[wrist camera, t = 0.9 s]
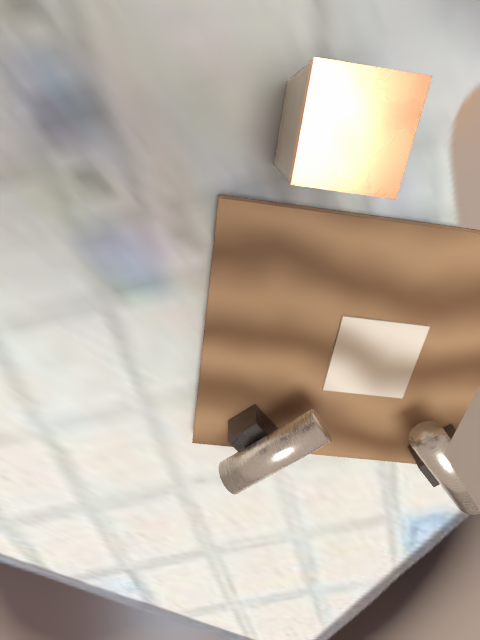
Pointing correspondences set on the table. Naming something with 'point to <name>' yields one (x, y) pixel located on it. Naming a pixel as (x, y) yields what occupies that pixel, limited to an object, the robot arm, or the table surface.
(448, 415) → the cradle board
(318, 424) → the shaft
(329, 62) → the block
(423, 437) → the shaft
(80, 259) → the table surface
